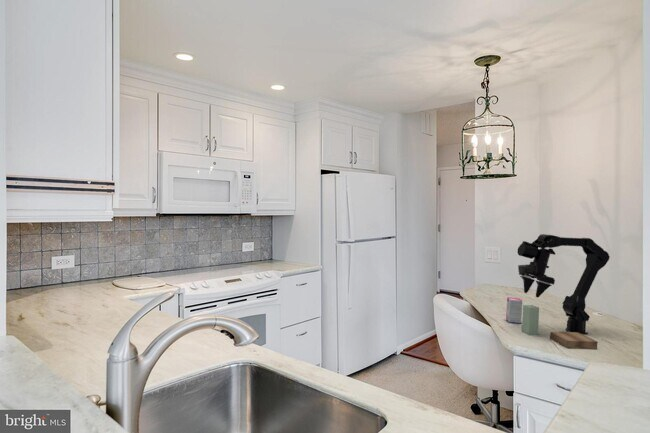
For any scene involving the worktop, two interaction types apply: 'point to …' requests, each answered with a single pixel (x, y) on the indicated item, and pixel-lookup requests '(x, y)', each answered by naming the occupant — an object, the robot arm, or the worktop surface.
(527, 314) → the sage block
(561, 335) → the walnut base
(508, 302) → the supplement box
